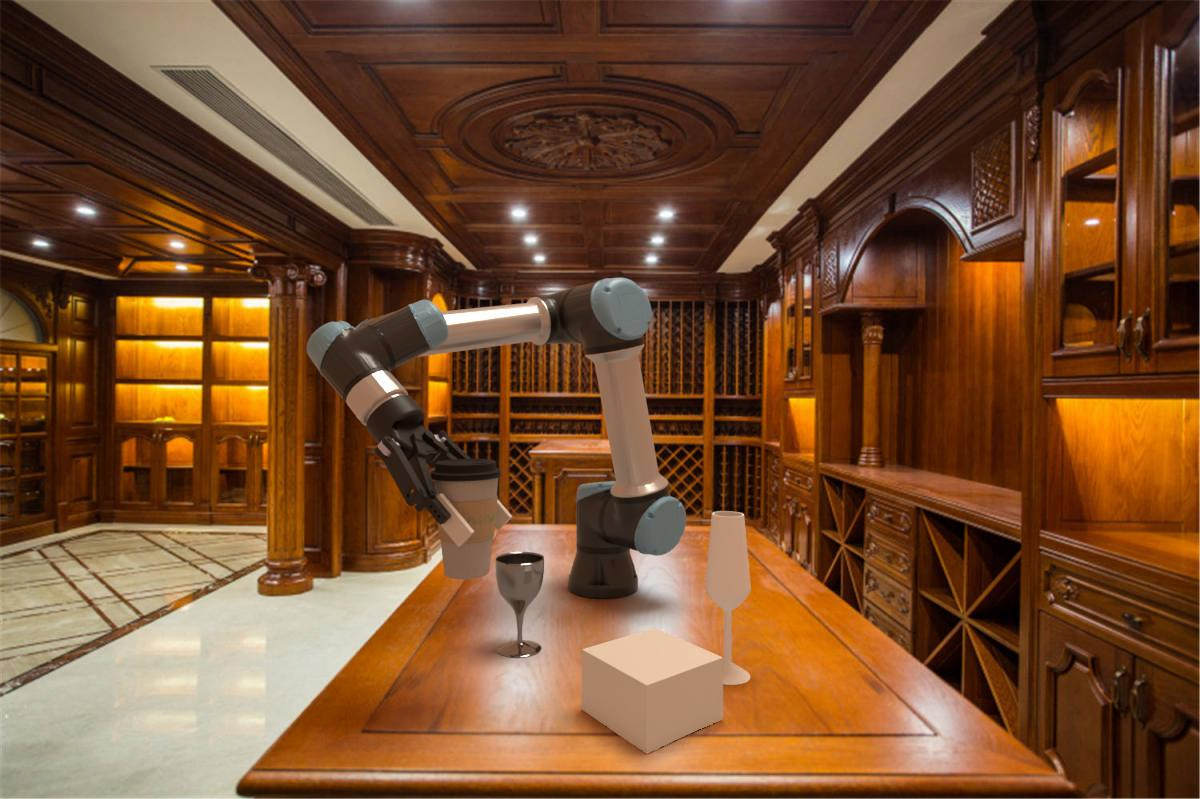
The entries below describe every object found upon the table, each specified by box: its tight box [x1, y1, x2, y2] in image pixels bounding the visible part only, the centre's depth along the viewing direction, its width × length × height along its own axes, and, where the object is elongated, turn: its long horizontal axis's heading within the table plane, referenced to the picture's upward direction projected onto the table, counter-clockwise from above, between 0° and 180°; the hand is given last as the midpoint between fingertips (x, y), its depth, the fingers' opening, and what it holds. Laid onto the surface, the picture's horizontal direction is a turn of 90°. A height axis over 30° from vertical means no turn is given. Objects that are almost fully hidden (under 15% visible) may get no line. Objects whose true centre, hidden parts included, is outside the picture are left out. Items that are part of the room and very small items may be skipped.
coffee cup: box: [430, 458, 502, 580], centre depth 84 cm, size 9×9×15 cm
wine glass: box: [494, 551, 545, 659], centre depth 103 cm, size 8×8×15 cm
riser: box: [581, 627, 724, 755], centre depth 82 cm, size 13×13×8 cm
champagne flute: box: [704, 510, 752, 686], centre depth 94 cm, size 7×7×24 cm
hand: (486, 530), depth 83 cm, fingers closed on coffee cup, 9 cm apart
